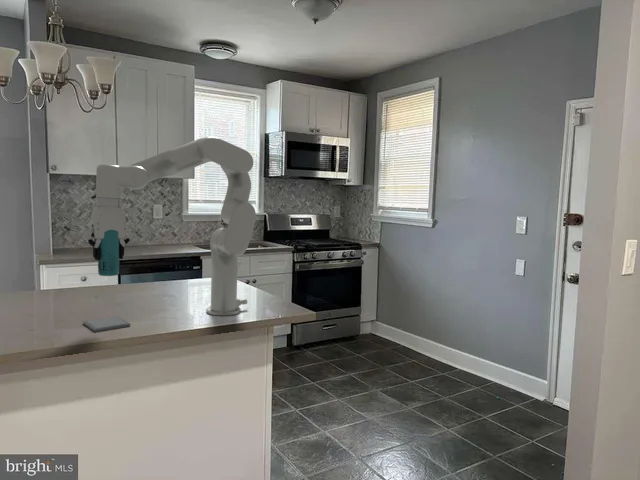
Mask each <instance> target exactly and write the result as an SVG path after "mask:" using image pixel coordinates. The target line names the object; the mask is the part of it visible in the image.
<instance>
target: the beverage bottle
mask: <svg viewBox="0 0 640 480" xmlns="http://www.w3.org/2000/svg"><path fill="white" fill-rule="evenodd" d="M99 248H100V260H97V269H98V270H97V273H98V275H99V276H101V277H102V276H103V277H113V276H114V277H115V276H118V275H119V274H120V260H121V259H120V258H119V256H120V255H119V238H118V232H117V231H115V230H108V231H106V232H104V238H103V239H101V242H100V244H99Z"/></svg>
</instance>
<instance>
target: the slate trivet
mask: <svg viewBox="0 0 640 480" xmlns="http://www.w3.org/2000/svg"><path fill="white" fill-rule="evenodd" d="M82 324H83V325H85V326H86V327H87V328H89V329H90V330H91V331H93V332H94V333H98V332H103V331H109V330H111V331H112V330H117V329H121V328H127V327H131V323H130V322H128V321H126V320H124V319H123V318H121V317H120V316H118V315H117V316H112V317H110V316H109V317H105V318H104V317H103V318H97V319H91V320H85V321H84V320H83V322H82Z"/></svg>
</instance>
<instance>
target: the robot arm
mask: <svg viewBox="0 0 640 480" xmlns="http://www.w3.org/2000/svg"><path fill="white" fill-rule="evenodd" d="M210 162H211V163H212V162H213V163H214V164H217V165H218V166H219V165H220V168H221V170H222V171H223V172H224V174H225V176H226V178H227V189H226V193H225V196H224V200H223V203H222V207H221V209H220V210H221V211H220V217H221V220H222V221H223V222H224V223H225V224H227V227H220V228H217V229H216V230H215V231H213V232H212V234H211V236H210V239H209V247H210V255H211V276H210V278H211V281H210V283H211V285H210V306H208V307H206V313H207V314H208V315H212V316H221V317H222V316H234V315H237V314H239V313H241V307H240V306H242V305H248V299H247V298H245V299H241V298H237V297H238V296H237V295H238V270H239V269H238V266H239V264H238V257H240V256H242V255H244V254H245V253H246V251H247V250H248V247H249V244H250V241H251V238H252V235H253V232H254V227H255V223H256V214H257V213H256V210H255V207H254V206H253V204H252V203H250V202H249V200H250V195H251V190H252V182H251V177H250V174H249V172H250V171H251V170H252V169H253V167H254V158H253V156H252V154H251V153H250V152H249V151H247V150H246V149H244V148H242V147H239V146H237V145H235V144H233V143H230V142H228V141H226V140H224V139H222V138H219V137H216V136H206V137H200V138H198V139H196V140H192V141H190V142H187V143H185V144H181V145H179V146H177V147H173V148H171V149H168V150H166V151H164V152H163V151H162V152H161V153H158V154H156V155H154V156H151V157H148V158H146V159H143V160H141V161H138V162H134V163H132V164H129V165H126V166H123V165H122V166H120V165H116V164H99V165H97V167H96V170H95V171H96V172H95V174H96V176H95V177H96V178H95V179H96V183H95V184H96V185H95V187H96V189H95V190H96V191H95V192H96V193H95V194H96V196H95V197H96V198H95V201H96V204H95V205H96V206H95V207H93V209H92V212H91V218H90V228H89V229H88V230H87V231H85V232H84V233H83V234H82V238H83V239H84V240H85V241H86V242H87V243H88V244H89V245H90V246H91V247H92V258H94V260H95V261H98V260H100V248H99V244H100V242H101V239H103V238H104V232H106V231H108V230H115V231H117V232H118V238H119V255H120V256H119V258H120V259H119V260H123V258H124V256H125V247H126V245H128V243H129V242H130V241H131V240H132V238H134V236H135V234H134V233H133V232H132V231H131V230H129V228H128V227H127V217H126V211H125V208H123V207H124V205H127V200H124V199H123V188H126V189H129V190H130V189H131V190H140V189H143V188H145V187H146V186H147V185H148V184H149V183H151V182H152V181H155V180H157V179H161V178H165V177H171V176H176V175H179V174H182V173H184V172H187V171H189V170H192V169H194V168H196V167H199V166H201V165H205V164H207V163H210ZM92 238H93V239H92Z"/></svg>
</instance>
